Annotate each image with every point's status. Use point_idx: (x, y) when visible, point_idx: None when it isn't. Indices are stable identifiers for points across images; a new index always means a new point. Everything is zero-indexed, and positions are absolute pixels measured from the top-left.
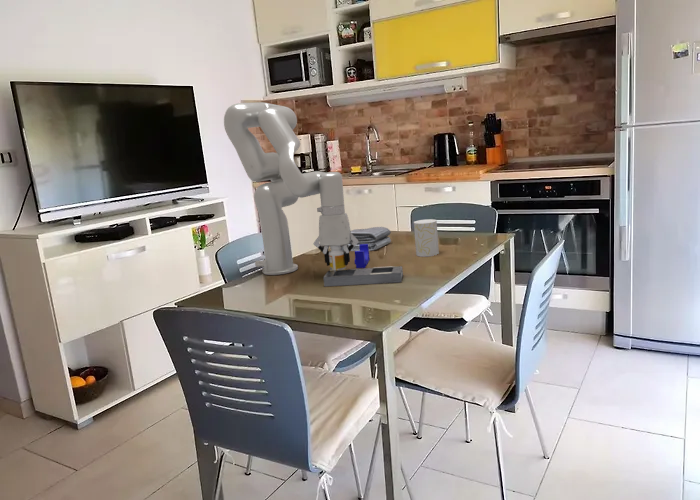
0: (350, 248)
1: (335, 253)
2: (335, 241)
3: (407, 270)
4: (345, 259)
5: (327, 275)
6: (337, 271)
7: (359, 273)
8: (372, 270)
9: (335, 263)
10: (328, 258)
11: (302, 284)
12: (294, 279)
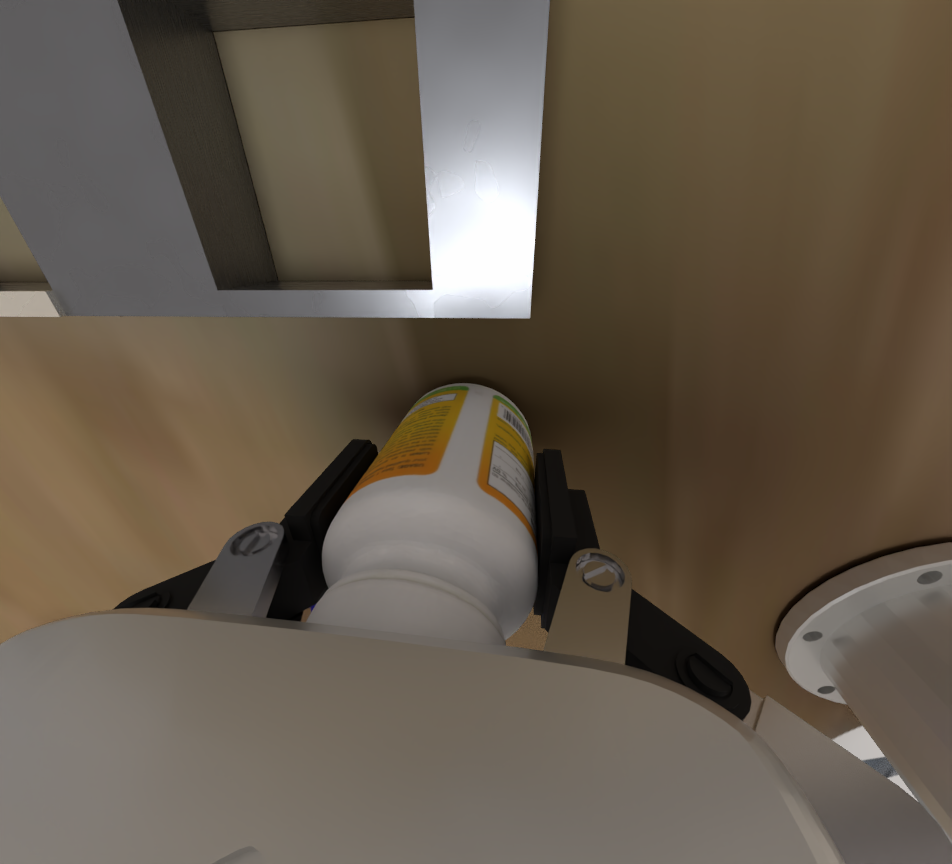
0: (186, 583)
1: (410, 503)
2: (248, 754)
3: (23, 426)
4: (338, 469)
5: (501, 5)
6: (420, 289)
7: (59, 49)
8: (27, 230)
9: (453, 425)
10: (539, 501)
11: (816, 160)
12: (859, 388)
